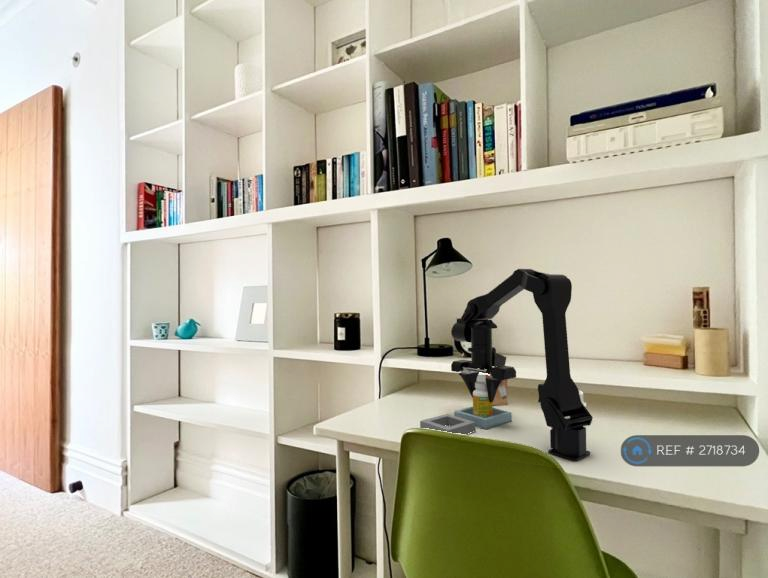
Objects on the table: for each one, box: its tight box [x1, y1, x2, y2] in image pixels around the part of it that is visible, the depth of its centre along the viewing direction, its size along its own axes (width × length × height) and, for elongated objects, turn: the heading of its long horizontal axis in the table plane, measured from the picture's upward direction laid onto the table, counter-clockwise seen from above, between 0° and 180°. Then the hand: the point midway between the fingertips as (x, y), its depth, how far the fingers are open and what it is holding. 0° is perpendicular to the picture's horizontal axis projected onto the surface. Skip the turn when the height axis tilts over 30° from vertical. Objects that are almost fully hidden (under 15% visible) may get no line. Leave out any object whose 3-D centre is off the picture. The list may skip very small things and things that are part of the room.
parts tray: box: [454, 405, 513, 430], centre depth 119 cm, size 11×11×2 cm
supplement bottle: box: [472, 382, 494, 418], centre depth 119 cm, size 5×5×10 cm
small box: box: [477, 375, 509, 406], centre depth 138 cm, size 8×6×10 cm
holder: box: [419, 413, 477, 435], centre depth 111 cm, size 10×10×2 cm
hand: (482, 400), depth 119 cm, fingers open, 6 cm apart
